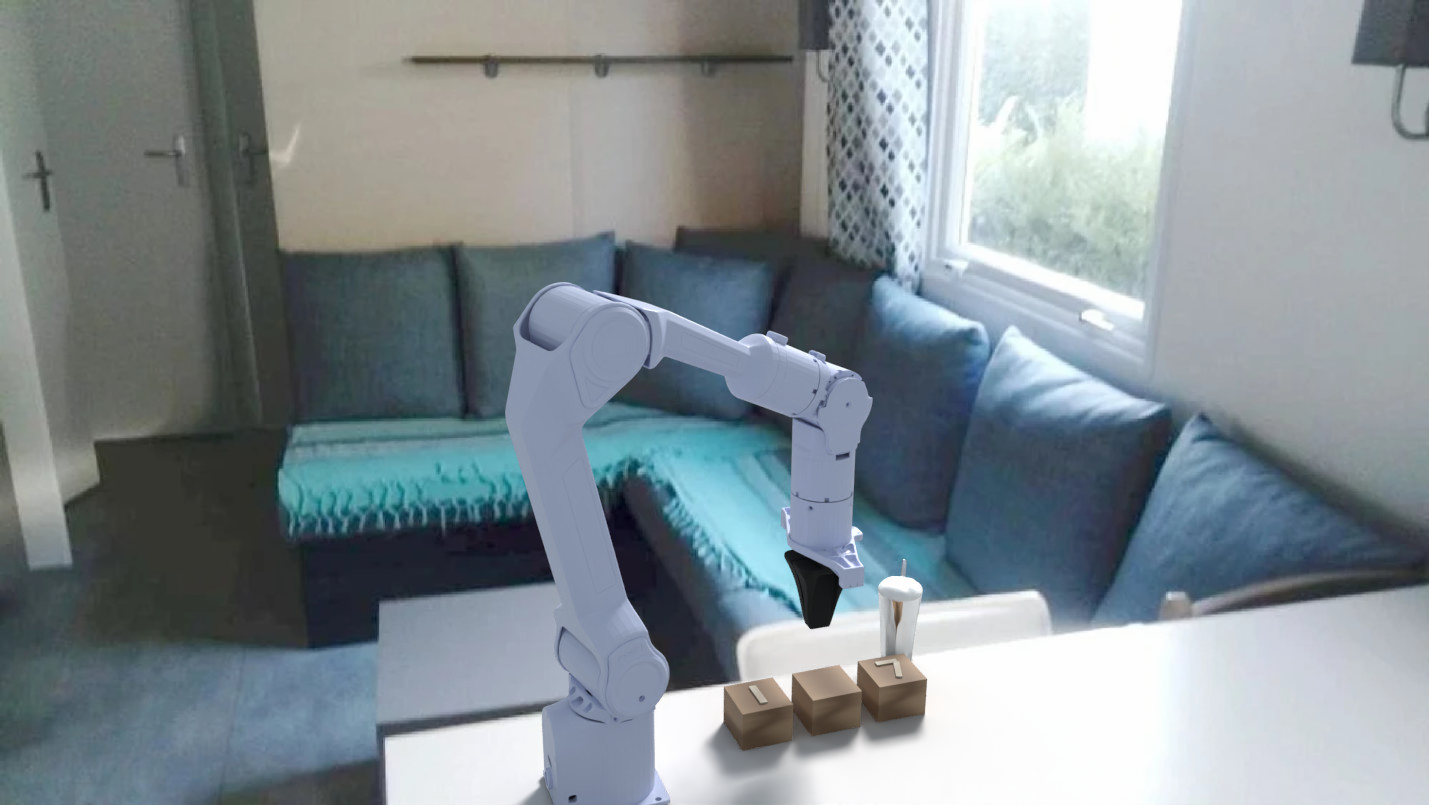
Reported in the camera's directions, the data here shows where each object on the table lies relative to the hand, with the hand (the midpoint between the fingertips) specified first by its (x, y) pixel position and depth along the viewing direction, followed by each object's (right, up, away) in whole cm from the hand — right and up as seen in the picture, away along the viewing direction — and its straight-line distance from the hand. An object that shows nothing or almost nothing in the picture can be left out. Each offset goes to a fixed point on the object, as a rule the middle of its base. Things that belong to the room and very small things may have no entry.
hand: (817, 624), depth 109 cm
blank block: (+1, -9, +2) cm, 10 cm away
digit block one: (-6, -10, 0) cm, 12 cm away
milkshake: (+10, -6, +13) cm, 17 cm away
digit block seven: (+8, -9, +4) cm, 12 cm away
